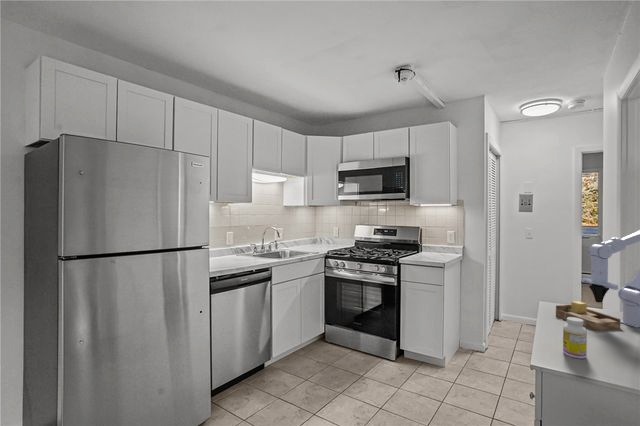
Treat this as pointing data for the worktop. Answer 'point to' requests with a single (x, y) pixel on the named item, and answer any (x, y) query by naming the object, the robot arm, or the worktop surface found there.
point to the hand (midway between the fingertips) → (598, 302)
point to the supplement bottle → (575, 338)
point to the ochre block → (578, 306)
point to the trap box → (589, 318)
